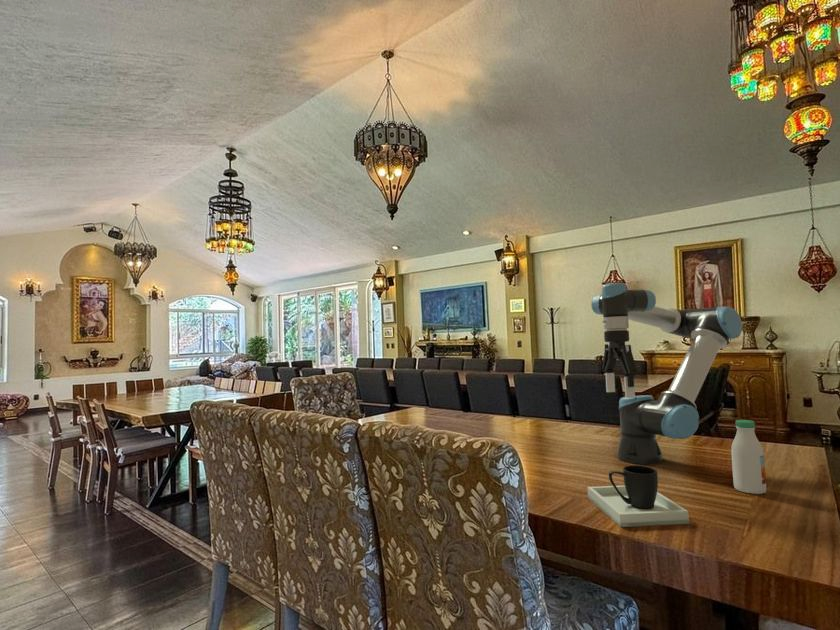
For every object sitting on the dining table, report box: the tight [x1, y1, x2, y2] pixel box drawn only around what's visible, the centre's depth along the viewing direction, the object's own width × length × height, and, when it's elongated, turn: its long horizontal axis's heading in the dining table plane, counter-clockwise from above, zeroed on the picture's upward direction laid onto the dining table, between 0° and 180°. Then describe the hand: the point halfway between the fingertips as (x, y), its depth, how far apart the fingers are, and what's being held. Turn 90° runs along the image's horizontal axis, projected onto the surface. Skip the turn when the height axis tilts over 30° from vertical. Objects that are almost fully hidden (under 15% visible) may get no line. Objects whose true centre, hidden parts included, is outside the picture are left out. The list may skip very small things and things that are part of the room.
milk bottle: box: [730, 419, 767, 495], centre depth 130 cm, size 8×8×20 cm
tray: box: [587, 484, 690, 528], centre depth 119 cm, size 17×20×3 cm
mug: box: [608, 464, 659, 510], centre depth 120 cm, size 8×12×10 cm
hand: (620, 394), depth 147 cm, fingers open, 13 cm apart
